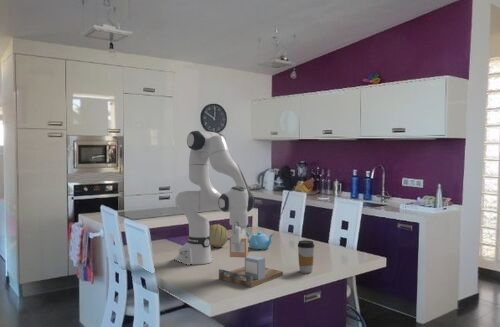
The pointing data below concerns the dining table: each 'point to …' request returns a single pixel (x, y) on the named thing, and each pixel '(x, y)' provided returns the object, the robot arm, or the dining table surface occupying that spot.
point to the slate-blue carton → (255, 267)
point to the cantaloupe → (217, 235)
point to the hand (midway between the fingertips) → (238, 249)
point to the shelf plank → (242, 279)
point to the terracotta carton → (243, 248)
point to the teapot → (259, 241)
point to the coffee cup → (305, 256)
